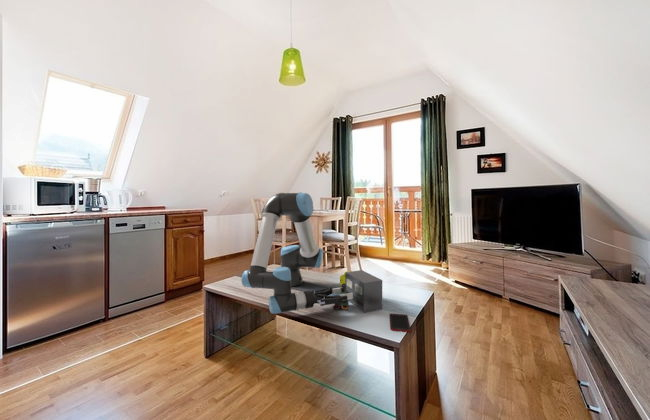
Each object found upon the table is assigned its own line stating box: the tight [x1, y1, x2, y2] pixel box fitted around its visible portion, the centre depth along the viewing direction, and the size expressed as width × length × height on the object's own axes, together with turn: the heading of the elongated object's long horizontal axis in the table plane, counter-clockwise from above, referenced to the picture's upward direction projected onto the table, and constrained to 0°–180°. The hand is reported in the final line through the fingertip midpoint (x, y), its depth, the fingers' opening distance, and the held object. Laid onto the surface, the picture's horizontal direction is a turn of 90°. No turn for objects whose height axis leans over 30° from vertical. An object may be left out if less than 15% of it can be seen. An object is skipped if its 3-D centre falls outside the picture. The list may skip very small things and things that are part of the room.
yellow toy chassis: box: [339, 270, 351, 286], centre depth 155 cm, size 16×6×8 cm, turn 54°
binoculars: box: [332, 284, 350, 311], centre depth 126 cm, size 9×11×10 cm
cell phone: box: [389, 313, 412, 333], centre depth 110 cm, size 8×15×1 cm, turn 168°
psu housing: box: [344, 269, 383, 314], centre depth 130 cm, size 19×10×14 cm, turn 23°
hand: (348, 292), depth 127 cm, fingers closed on binoculars, 8 cm apart
